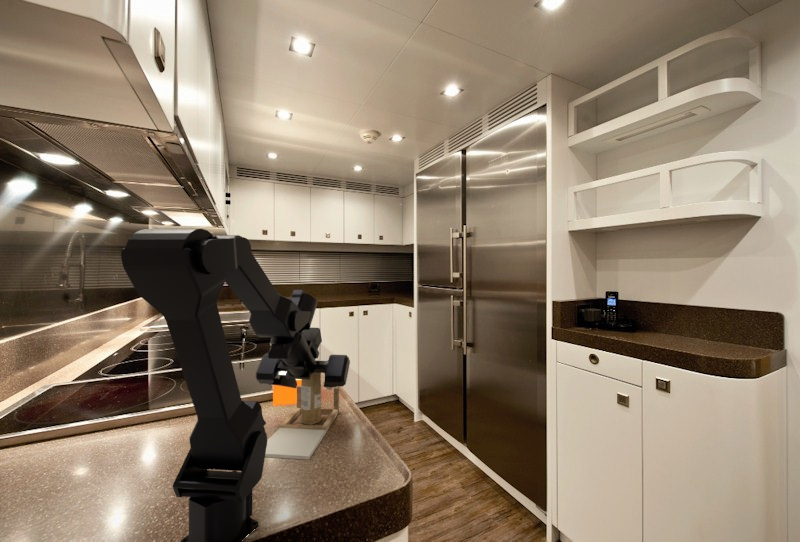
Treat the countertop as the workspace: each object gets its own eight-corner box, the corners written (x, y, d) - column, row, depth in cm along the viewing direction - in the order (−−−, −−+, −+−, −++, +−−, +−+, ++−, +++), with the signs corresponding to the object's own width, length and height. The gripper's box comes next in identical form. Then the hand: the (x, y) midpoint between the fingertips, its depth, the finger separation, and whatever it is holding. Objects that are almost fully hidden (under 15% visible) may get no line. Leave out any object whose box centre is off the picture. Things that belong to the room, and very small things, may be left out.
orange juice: (276, 394, 88) (276, 321, 88) (310, 391, 91) (310, 320, 91) (272, 406, 81) (273, 325, 81) (309, 402, 83) (309, 324, 83)
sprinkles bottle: (324, 422, 72) (324, 361, 72) (304, 427, 70) (304, 365, 70) (317, 414, 76) (317, 357, 76) (297, 419, 74) (298, 360, 74)
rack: (325, 432, 68) (325, 404, 68) (279, 430, 68) (279, 402, 68) (338, 412, 78) (339, 387, 78) (298, 410, 78) (298, 385, 78)
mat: (309, 459, 58) (309, 456, 58) (255, 456, 59) (255, 453, 59) (326, 431, 68) (326, 429, 68) (280, 429, 69) (280, 426, 69)
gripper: (348, 317, 68) (359, 356, 79) (262, 316, 70) (285, 354, 81) (337, 366, 60) (351, 401, 71) (241, 363, 62) (269, 398, 73)
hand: (313, 386), depth 74 cm, fingers open, 8 cm apart
